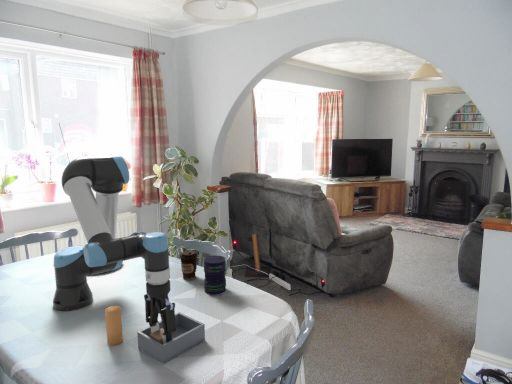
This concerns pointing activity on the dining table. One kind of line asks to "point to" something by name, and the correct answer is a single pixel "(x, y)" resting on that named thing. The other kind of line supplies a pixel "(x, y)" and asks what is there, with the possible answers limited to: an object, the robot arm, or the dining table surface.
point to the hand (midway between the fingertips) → (161, 347)
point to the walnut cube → (158, 335)
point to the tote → (173, 339)
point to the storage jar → (214, 275)
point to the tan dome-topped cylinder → (114, 325)
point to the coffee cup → (189, 264)
